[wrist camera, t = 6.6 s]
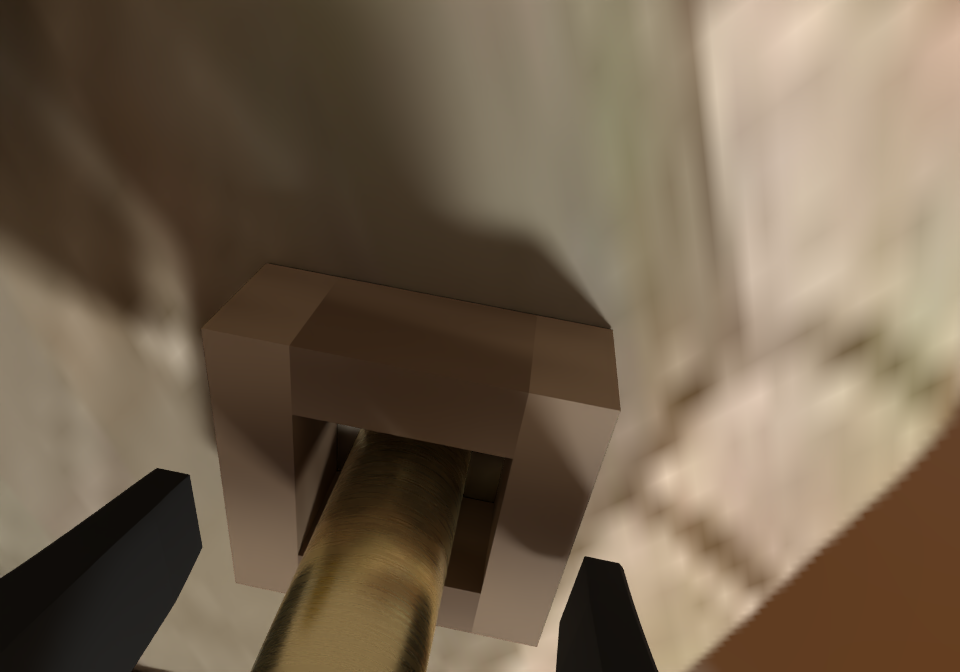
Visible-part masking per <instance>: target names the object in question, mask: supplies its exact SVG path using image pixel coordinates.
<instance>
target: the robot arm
mask: <svg viewBox="0 0 960 672" xmlns="http://www.w3.org/2000/svg"><path fill="white" fill-rule="evenodd" d="M201 549H202V542H201V536H200V531H199V525H198V519H197V514H196V508H195V502H194V497H193V491H192V486H191V480H190V475H188V474H184V473H179V472H174V471H169V470H164V469H159V468H157V469H155V470H153V471H152V472H150V473H149V474H148V475H146V476H145V477H143V478H142V479H141V480H139V481H138V482H136V483H135V484H134V485H132V486H131V487H130V488H128V489H127V490H125V491H124V492H123V493H121V494H120V495H119V496H117V497H116V498H114V499H113V500H112V501H110V502H109V503H108V504H106V505H105V506H103V507H102V508H101V509H99V510H98V511H97V512H95V513H94V514H92V515H91V516H90V517H88V518H87V519H85V520H84V521H83V522H81V523H80V524H79V525H77V526H76V527H74V528H73V529H72V530H70V531H69V532H67V533H66V534H64V535H63V536H62V537H60V538H59V539H57V540H56V541H54V542H53V543H51V544H50V545H49V546H47V547H46V548H44V549H43V550H41V551H40V552H39V553H37V554H36V555H34V556H33V557H31V558H30V559H29V560H27V561H26V562H24V563H23V564H21V565H20V566H18V567H17V568H15V569H14V570H12V571H11V572H9V573H8V574H6V575H5V576H3V577H2V578H0V672H131V671H132V670H133V668H134V666H135V665H136V663H137V662H138V660H139V659H140V657H141V656H142V654H143V653H144V651H145V649H146V648H147V646H148V645H149V643H150V642H151V640H152V638H153V637H154V635H155V634H156V632H157V631H158V629H159V627H160V626H161V624H162V623H163V621H164V620H165V618H166V616H167V615H168V613H169V612H170V610H171V608H172V607H173V605H174V604H175V602H176V600H177V598H178V596H179V594H180V592H181V590H182V588H183V586H184V584H185V582H186V580H187V578H188V576H189V574H190V572H191V570H192V568H193V566H194V564H195V562H196V560H197V557H198V555H199V553H200V551H201ZM556 672H658V670H657V667H656V665H655V662H654V659H653V657H652V654H651V652H650V649H649V646H648V643H647V640H646V638H645V635H644V632H643V629H642V626H641V624H640V621H639V618H638V615H637V612H636V609H635V606H634V603H633V600H632V596H631V593H630V590H629V587H628V583H627V580H626V577H625V573H624V569H623V568H622V566H621V565H620V564H619V563H615V562H610V561H605V560H600V559H596V558H591V557H586V556H585V557H584V559H583V562H582V565H581V567H580V570H579V573H578V575H577V578H576V581H575V583H574V586H573V588H572V591H571V594H570V596H569V599H568V602H567V604H566V607H565V610H564V612H563V615H562V618H561V620H560V625H559V637H558V650H557V664H556Z"/></svg>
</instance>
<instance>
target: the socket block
mask: <svg viewBox="0 0 960 672" xmlns="http://www.w3.org/2000/svg"><path fill="white" fill-rule="evenodd" d="M201 332H202V339H203V347H204V354H205V361H206V369H207V376H208V383H209V391H210V398H211V405H212V413H213V420H214V427H215V435H216V442H217V449H218V457H219V464H220V471H221V479H222V486H223V493H224V501H225V508H226V515H227V523H228V530H229V537H230V545H231V552H232V560H233V567H234V574H235V582H236V583H238V584H243V585H248V586H252V587H257V588H262V589H266V590H271V591H276V592H281V593H285V594H286V592H287V590H288V588H289V586H290V583H291V581H292V579H293V577H294V575H295V572H296V570H297V568H298V566H299V564H300V561H301V559H302V557H303V555H304V553H305V550H306V548H307V546H308V544H309V541H310V539H311V537H312V535H313V533H314V530H315V528H316V526H317V524H318V522H319V519H320V517H321V515H322V513H323V511H324V508H325V506H326V504H327V502H328V500H329V497H330V495H331V493H332V491H333V489H334V486H335V484H336V482H337V480H338V478H339V475H340V473H341V472H338V471H337V424H341V425H346V426H351V427H356V428H361V429H366V430H371V431H376V432H381V433H386V434H391V435H396V436H401V437H406V438H411V439H416V440H421V441H426V442H431V443H436V444H441V445H446V446H451V447H456V448H461V449H466V450H471V451H476V452H480V453H485V454H490V455H495V456H500V457H505V458H504V463H503V467H502V472H501V476H500V480H499V485H498V489H497V493H496V498H495V502H494V503H489V502H484V501H480V500H475V499H470V498H465V497H462V502H461V507H460V511H459V516H458V521H457V526H456V531H455V535H454V540H453V545H452V550H451V555H450V560H449V564H448V569H447V574H446V579H445V584H444V588H443V593H442V598H441V603H440V608H439V613H438V617H437V622H436V626H441V627H445V628H450V629H455V630H460V631H464V632H469V633H474V634H478V635H483V636H488V637H493V638H497V639H502V640H507V641H511V642H516V643H521V644H525V645H530V646H535V647H537V645H538V642H539V639H540V637H541V634H542V631H543V628H544V625H545V623H546V620H547V617H548V614H549V611H550V609H551V606H552V603H553V600H554V597H555V594H556V592H557V589H558V586H559V583H560V580H561V578H562V575H563V572H564V569H565V566H566V563H567V561H568V558H569V555H570V552H571V549H572V547H573V544H574V541H575V538H576V535H577V533H578V530H579V527H580V524H581V521H582V518H583V516H584V513H585V510H586V507H587V504H588V502H589V499H590V496H591V493H592V490H593V487H594V485H595V482H596V479H597V476H598V473H599V471H600V468H601V465H602V462H603V459H604V456H605V454H606V451H607V448H608V445H609V442H610V440H611V437H612V434H613V431H614V428H615V426H616V423H617V420H618V417H619V414H620V411H621V409H620V399H619V389H618V379H617V369H616V359H615V349H614V339H613V330H611V329H606V328H601V327H595V326H590V325H585V324H580V323H575V322H569V321H564V320H559V319H554V318H549V317H543V316H538V315H533V314H528V313H523V312H517V311H512V310H507V309H502V308H497V307H491V306H486V305H481V304H476V303H471V302H465V301H460V300H455V299H450V298H445V297H440V296H434V295H429V294H424V293H419V292H414V291H408V290H403V289H398V288H393V287H388V286H382V285H377V284H372V283H367V282H362V281H356V280H351V279H346V278H341V277H336V276H330V275H325V274H320V273H315V272H310V271H304V270H299V269H294V268H289V267H284V266H278V265H273V264H268V263H266V264H265V265H264V266H263V267H262V268H261V269H260V270H259V271H258V272H257V273H256V274H255V275H254V276H253V277H252V278H251V279H250V280H249V281H248V282H247V283H246V284H245V285H244V286H243V287H242V288H241V289H240V290H239V291H238V292H237V293H236V294H235V295H234V296H233V297H232V298H231V299H230V300H229V301H228V302H227V303H226V304H225V305H224V306H223V307H222V308H221V309H220V310H219V311H218V312H217V313H216V314H215V315H214V316H213V317H212V318H211V319H210V320H209V321H208V322H207V323H206V324H205V325H204V326H203V327H202V328H201Z"/></svg>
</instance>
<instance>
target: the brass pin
mask: <svg viewBox="0 0 960 672" xmlns="http://www.w3.org/2000/svg"><path fill="white" fill-rule="evenodd" d="M471 454H472V451H471V450H466V449H461V448H456V447H451V446H446V445H441V444H436V443H431V442H426V441H421V440H416V439H411V438H406V437H401V436H396V435H391V434H386V433H381V432H376V431H371V430H366V429H360V431H359V433H358V436H357V438H356V440H355V442H354V444H353V447H352V449H351V451H350V453H349V455H348V458H347V460H346V462H345V464H344V467H343V469H342V471H341V473H340V475H339V478H338V480H337V482H336V484H335V486H334V489H333V491H332V493H331V495H330V497H329V500H328V502H327V504H326V506H325V508H324V511H323V513H322V515H321V517H320V519H319V522H318V524H317V526H316V528H315V530H314V533H313V535H312V537H311V539H310V541H309V544H308V546H307V548H306V550H305V553H304V555H303V557H302V559H301V561H300V564H299V566H298V568H297V570H296V572H295V575H294V577H293V579H292V581H291V583H290V586H289V588H288V590H287V592H286V594H285V597H284V599H283V601H282V603H281V605H280V608H279V610H278V612H277V614H276V616H275V619H274V621H273V623H272V625H271V627H270V630H269V632H268V634H267V636H266V639H265V641H264V643H263V645H262V647H261V650H260V652H259V654H258V656H257V658H256V661H255V663H254V665H253V667H252V669H251V672H426V670H427V666H428V661H429V656H430V651H431V646H432V641H433V637H434V632H435V627H436V622H437V617H438V613H439V608H440V603H441V598H442V593H443V588H444V584H445V579H446V574H447V569H448V564H449V560H450V555H451V550H452V545H453V540H454V535H455V531H456V526H457V521H458V516H459V511H460V507H461V502H462V497H463V492H464V487H465V482H466V478H467V473H468V468H469V463H470V458H471Z"/></svg>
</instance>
